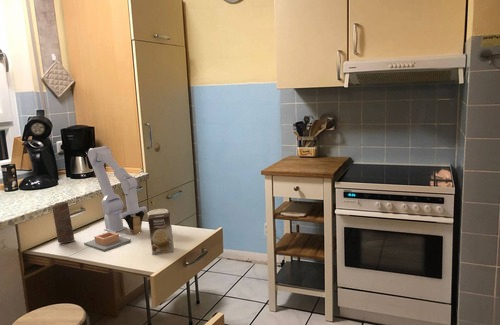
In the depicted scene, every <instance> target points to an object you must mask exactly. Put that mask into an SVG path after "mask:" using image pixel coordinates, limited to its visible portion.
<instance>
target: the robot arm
mask: <svg viewBox="0 0 500 325" xmlns="http://www.w3.org/2000/svg"><path fill="white" fill-rule="evenodd" d="M87 151H88V152H87V157H88V161H89V163H90V165H91V167H92V168H93V172H94V175H95V177H96V179H97V183H98V184H99V187H100V191H101V192H102V195H103V198H102V200H100V201H101V202H100V204H101V209H102V212H103V213H104V216H103V218H104V225H105V227H104V231H106V232H113V233H117V232H120V231H124V230H125V229H127V228H129V230H130V229H131V230H133V216H132V215H134V216H139V217H140V221H141V226H142V225H143V219H144V216H145V212H147V210H148V209H147V206H140V207H139V200H138V192H137V188H138V186H139V182H138V179H137V177H135V176H133V175H130V173H128V171H127V170H126V168H125V167H123V166H120V165H119V164H118V162H117V161H116V160H115V158H114V157H113V156H112V150H111V149H110V147H109V146H108V145H103V146H100V147H99V146H98V147H94V148H93V147H92V148H91V147H90V148H89V149H88V150H87ZM105 164H107V165H108V167H110V169H112V171H113V175H114V177H115V178H116V179H117V180H118V181H119V182H120V187H121V189H122V192H123V194H124V199H125V204H124V201H123V200H122V198H121V196H120V195H119V194H117V193H115V191H114V188H113V187H112V184H111V181H110V178H109V176H108V174H107V170H106V169H105V166H104V165H105ZM125 205H126V210H125V211H124V212H123V210H124V207H125ZM123 219H124V220H125V221H123ZM123 222H126V224H127V226H128V227H127V226H124V223H123Z"/></svg>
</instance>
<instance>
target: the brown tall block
mask: <svg viewBox="0 0 500 325" xmlns="http://www.w3.org/2000/svg"><path fill="white" fill-rule="evenodd" d="M51 208H52V213H53V214H52V215H53V220H54V225H55V231H56V233H55V234H56V237H57V243H59V244H66V243H69V242H74V241H75V236H74V231H73V230H74V229H73V225H72V224H73V223H72V220H71V213H70V208H69V202H68V201H62V202H56V203H54V205H51Z"/></svg>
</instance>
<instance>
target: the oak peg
mask: <svg viewBox="0 0 500 325" xmlns="http://www.w3.org/2000/svg"><path fill="white" fill-rule="evenodd" d="M132 217H133V230H131V229H130V228H129V232H130V234H132V235H138V234H140V233H143V230H142V225H141V221H140V217H139V216H135V215H133V216H132ZM139 232H140V233H139ZM137 233H138V234H137Z"/></svg>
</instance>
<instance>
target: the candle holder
mask: <svg viewBox="0 0 500 325" xmlns="http://www.w3.org/2000/svg"><path fill="white" fill-rule="evenodd" d="M162 213H169V210H168V209H166V208H156V209H152V210H150V211H147V213H146V216H147V218H148V217H149V215H153V214H162Z"/></svg>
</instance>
